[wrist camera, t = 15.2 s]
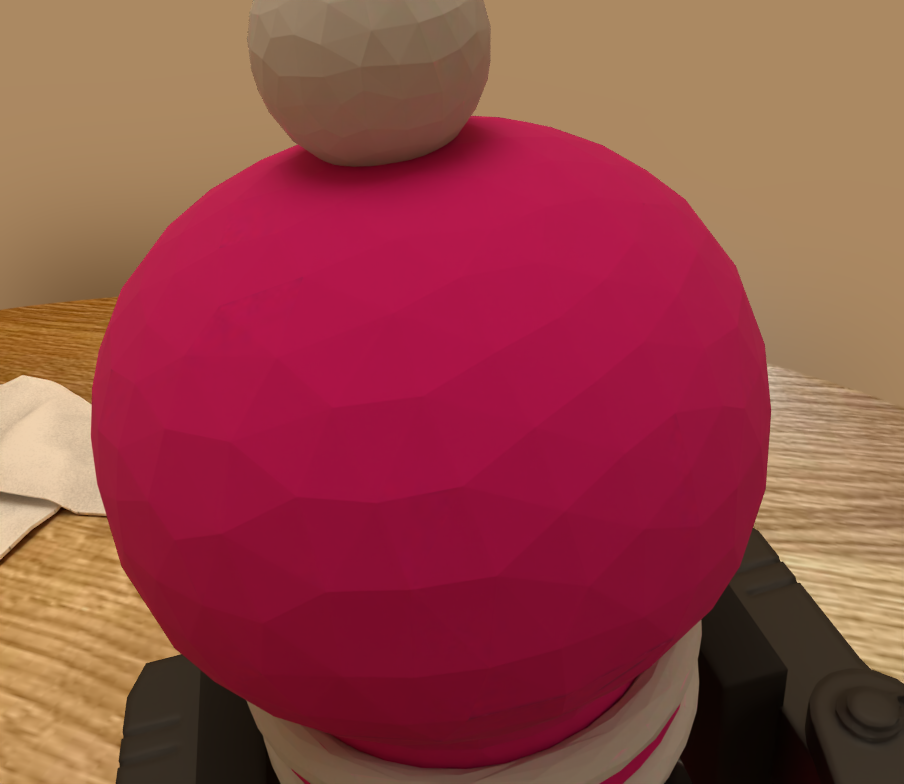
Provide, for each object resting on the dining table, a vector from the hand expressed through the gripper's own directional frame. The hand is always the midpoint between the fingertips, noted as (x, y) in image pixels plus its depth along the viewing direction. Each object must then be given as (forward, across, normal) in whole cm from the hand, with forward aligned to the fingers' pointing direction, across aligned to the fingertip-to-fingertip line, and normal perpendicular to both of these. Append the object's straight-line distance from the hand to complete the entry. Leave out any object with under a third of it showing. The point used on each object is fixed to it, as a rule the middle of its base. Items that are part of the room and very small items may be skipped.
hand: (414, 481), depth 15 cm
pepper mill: (-5, 0, -11) cm, 12 cm away
